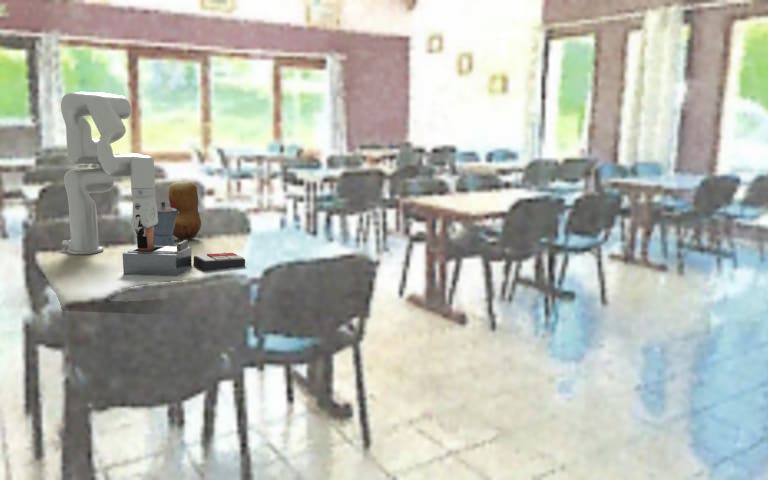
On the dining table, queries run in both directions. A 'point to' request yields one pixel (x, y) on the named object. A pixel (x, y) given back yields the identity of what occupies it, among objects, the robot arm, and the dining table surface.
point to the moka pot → (165, 226)
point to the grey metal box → (156, 262)
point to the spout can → (148, 240)
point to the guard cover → (175, 247)
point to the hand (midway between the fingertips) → (146, 245)
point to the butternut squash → (185, 209)
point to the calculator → (218, 261)
